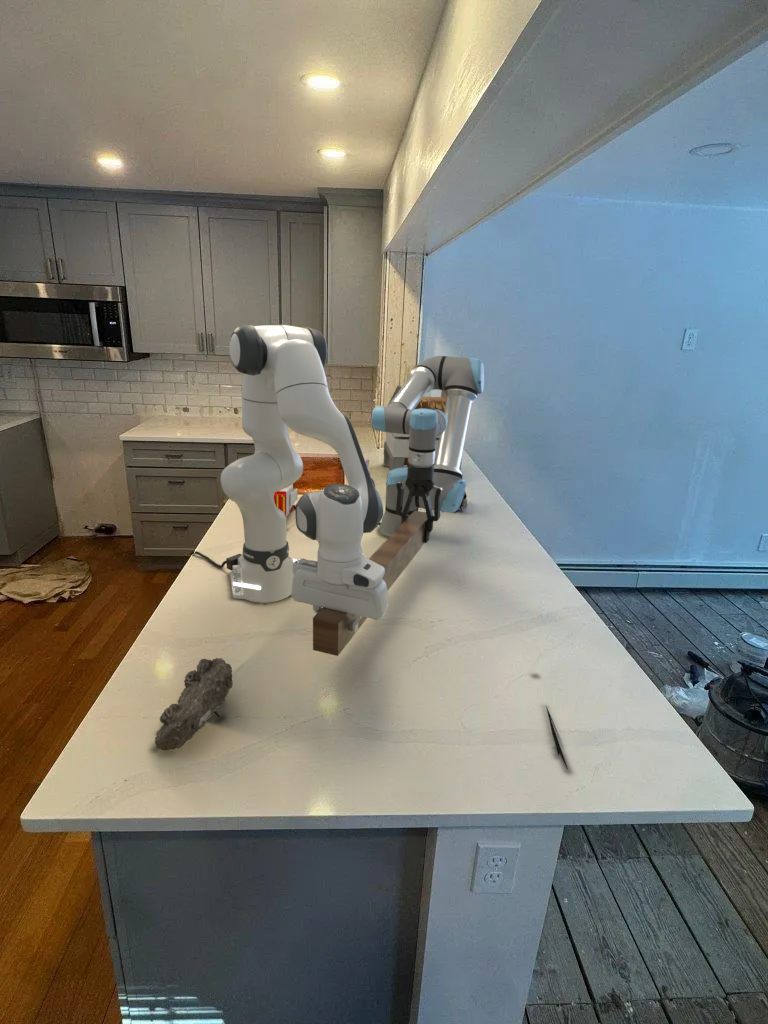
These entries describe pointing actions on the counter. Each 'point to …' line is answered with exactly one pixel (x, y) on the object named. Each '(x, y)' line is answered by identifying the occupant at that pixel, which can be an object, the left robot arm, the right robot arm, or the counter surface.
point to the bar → (394, 558)
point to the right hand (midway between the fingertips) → (416, 539)
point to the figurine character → (463, 502)
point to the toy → (286, 499)
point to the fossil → (195, 703)
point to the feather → (556, 737)
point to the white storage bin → (399, 443)
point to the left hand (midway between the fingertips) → (338, 626)
